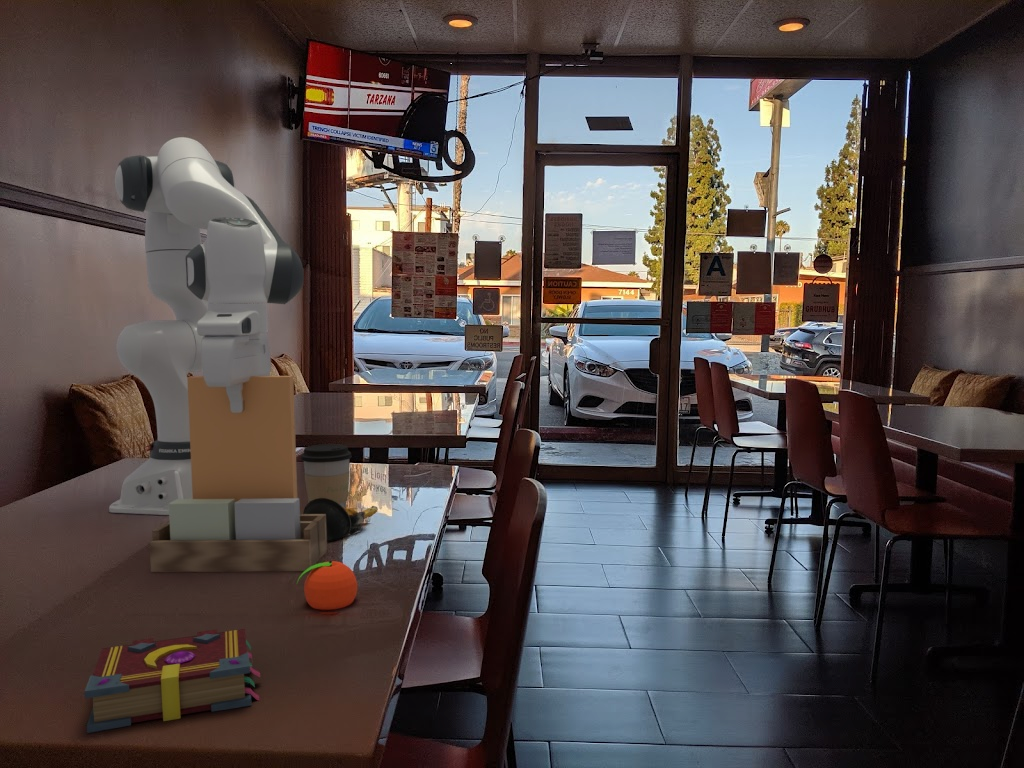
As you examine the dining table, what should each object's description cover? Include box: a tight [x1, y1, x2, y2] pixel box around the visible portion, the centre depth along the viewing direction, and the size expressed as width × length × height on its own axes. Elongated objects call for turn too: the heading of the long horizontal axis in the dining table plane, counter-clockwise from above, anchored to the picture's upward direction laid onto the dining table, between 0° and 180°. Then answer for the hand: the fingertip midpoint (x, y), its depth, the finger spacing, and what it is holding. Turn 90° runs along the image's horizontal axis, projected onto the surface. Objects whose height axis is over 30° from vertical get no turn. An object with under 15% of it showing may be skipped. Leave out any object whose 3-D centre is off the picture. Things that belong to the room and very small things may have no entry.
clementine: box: [296, 560, 358, 616], centre depth 107 cm, size 8×7×7 cm
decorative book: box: [84, 628, 261, 734], centre depth 85 cm, size 11×16×5 cm
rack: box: [149, 513, 328, 573], centre depth 126 cm, size 24×10×8 cm, turn 89°
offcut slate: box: [234, 497, 301, 540], centre depth 124 cm, size 9×3×10 cm, turn 89°
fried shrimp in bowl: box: [302, 498, 379, 543], centre depth 144 cm, size 9×11×18 cm
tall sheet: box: [187, 375, 298, 503], centre depth 128 cm, size 16×2×22 cm, turn 89°
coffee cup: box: [299, 443, 353, 508], centre depth 152 cm, size 9×9×15 cm
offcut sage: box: [168, 499, 236, 540], centre depth 124 cm, size 9×3×10 cm, turn 89°
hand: (241, 410), depth 127 cm, fingers closed on tall sheet, 2 cm apart
